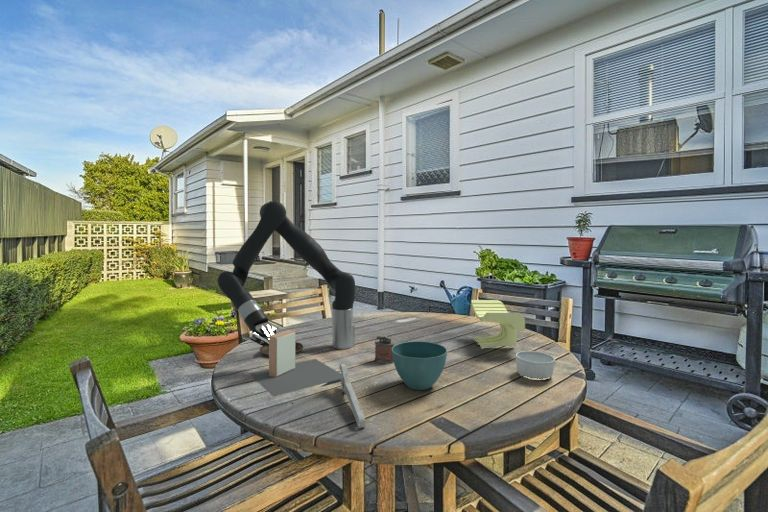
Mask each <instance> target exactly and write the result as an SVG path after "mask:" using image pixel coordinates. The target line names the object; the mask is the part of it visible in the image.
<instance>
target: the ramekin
mask: <svg viewBox="0 0 768 512" xmlns="http://www.w3.org/2000/svg"><path fill="white" fill-rule="evenodd" d="M515 360H516V371H517V373H518V374H521V375H523V376H527V377H530V378H537V379H538V378H539V379H543V378H548V377H551V376H552V377H553V375H554V369H555V364H556V358H555V357H554V356H553V355H551V354H548V353H546V352H542V351H536V350H522V351H518V352H516V353H515ZM552 377H551V378H552Z"/></svg>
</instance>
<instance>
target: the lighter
mask: <svg viewBox="0 0 768 512" xmlns="http://www.w3.org/2000/svg"><path fill="white" fill-rule="evenodd" d="M374 345H375V347H374V348H375V349H374V352H375V353H374V357H375V358H374V361H375V362H377V363H378V362H379V363H382V362H384V364H394V361H393V357H392V348H393V347H394V346H395V343H394V342H392V338H391V337H390V336H387V335H385V336H382V335H376V341H374Z"/></svg>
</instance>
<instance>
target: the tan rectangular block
mask: <svg viewBox="0 0 768 512" xmlns="http://www.w3.org/2000/svg"><path fill="white" fill-rule="evenodd" d="M295 342H296V330H293V329H287V330H283V331H281V332H280V331H279V333H277V334H274V335H271V336H269V353H268V354H269V357H268V369H269V376H272V377H277V376H279V375H282V374H284V373H286V372H288V371H290V370H293V369H295V363H296V355H295Z"/></svg>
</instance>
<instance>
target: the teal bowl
mask: <svg viewBox="0 0 768 512" xmlns="http://www.w3.org/2000/svg"><path fill="white" fill-rule="evenodd" d="M447 354H448V349H447V348H446V347H445V346H444V345H442V344H439V343H435V342H431V341H406V342H401V343H397V344H394V347H393V348H392V357H393V361H394V363H393V364H394V367H395V368H394V369H395V370H396V372H397V375H398V376H399V378H400V379H401V380H402V382H403V383H404V384H405V385H406V386H407V387H408V388H409V389H411V390H412V389H413V390H415V391H417V390H418V391H421V390H422V391H423V390H428V389H430V388H432V387H433V386H434V384H435V383H437V381H438V380H439V378H440V376H441V375H442V374H443V371H444V367H445V365H446V362H447V361H446V360H447V357H448V355H447Z"/></svg>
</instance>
